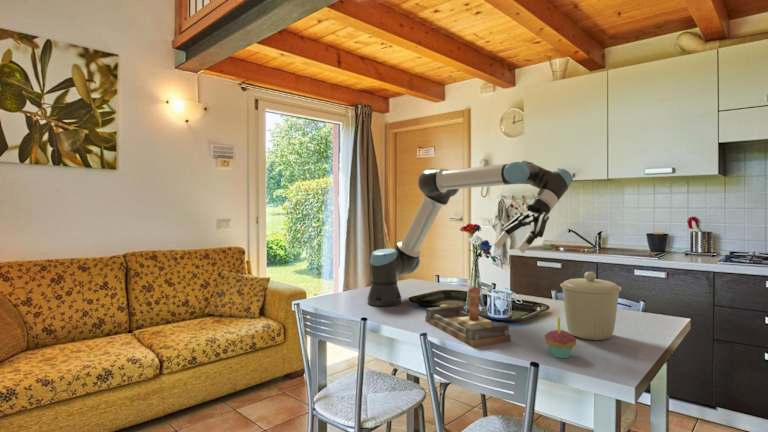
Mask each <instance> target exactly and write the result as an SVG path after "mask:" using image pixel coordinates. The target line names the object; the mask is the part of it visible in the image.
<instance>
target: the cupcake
mask: <svg viewBox="0 0 768 432" xmlns="http://www.w3.org/2000/svg"><path fill="white" fill-rule="evenodd" d="M544 341H545V343H546V344H547V345H548V347H549V350H550V353H551V356H553V357H554V358H555V357H556V358H557V359H568V358H570V356H571V352H572V350H573V348H574V347H575V346H576V345H577V338H576V336H574V335H572V334H571V333H570V332H569V331H567V330H562V329H561V318H560V315H558V316H557V329H555V330H554V329H553V330H550V331H548V332H547V333H546V334H545V335H544Z"/></svg>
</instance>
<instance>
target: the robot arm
mask: <svg viewBox="0 0 768 432" xmlns="http://www.w3.org/2000/svg"><path fill="white" fill-rule="evenodd" d="M573 181H574V177H573V175H572V173H571V172H570V171H568V170H567V169H565V168H561V167H560V168H557V169H556V168H555V170H553V171H552V170H549V169H546V168H543V167H542V166H539V165H537V164H535V163H534V162H530V161H527V160H521V161H513V162H512V161H511V162H510V163H503V164H494V165H493V164H492V165H484V166H477V167H476V166H475V167H468V168H466V167H465V168H460V169H459V168H458V169H457V168H455V169H448V168H447V169H446V168H427V169H425V170H423V171H422V172H421V173H420V175H419V177H418V180H417V185H418V189H420V192H421V193H422V194H423V196H424V197H423V200H422V202H421V204H419V205H420V206H419V207H418V209H417V212H416V213H415V215H414V217H413V219H412V222H411V224H410V225H409V226H408V227H409V228H408V229H407V232H406V234H405V235H404V237H403V239H402V240H401V241H399V242H397V244H396V246H395V248H379V249H376V250H374V251H372V252H371V254H370V261H369V263H370V288H369V291H368V295H367V304H368V305H371V306H374V307H392V306H398V305H400V304H401V303H402V295H401V292H400V289H399V286H398V277H400V276H404V275H410V274H411V273H413V272H415V271H416V270H417V269H418V268H419V266H420V262H421V259H420V257H421V252H420V248H421V247H422V245H423V243H424V241H425V239H426V237H427V235H428V233H429V231H430V230H431V228H432V226H433V224H434V222H435V219H436V218H437V216H438V214H439V212H440V210H441V209H442V206H443V207H444V206H447V205H448V203H449V201H450V199H451V197H453V196H455V195H457V194H458V193H459V191H460V189H471V188H482V187H483V188H484V187H485V188H486V187H494V186H495V187H496V186H507V185H508V186H509V185H530V186H533V187H535V188H536V189H539V190H538V192H537V193H536V194H535V195H534V196H533V198H532V199H531V201H529V203H528V204H527V208H526V212H525V213H523V212H522V211H519V212H518V213H517V214H516V216H514V217H513V218H512V219H511V220H509V221H508V222H507V223H506V224H505V225H503V226H502V227H501V228H500V230H501V234H500V235H499V236H498V238H497V239H496V241H495V242H494V243H493V246H494V247H495V248H496V250H498V251H499V250H500V249H501V248H502V246H503V245H504V243H506V242H507V240H508V239H509V237H510V235H511V234H513V233H514V232H516V231H517V230H519V229H521V228H523V227H526V226H530V231H529V233H527V234H526V236H525V237H524V238H523V239H522V241H521V242H520V244H519V245H518V247H517V249H518V250H519V251H520V253H522V254H524V253H525V252H526V251H527V250H528V249H529V247H530V246H531V245H532V244H533V242H534V241H535V240H536V239H538V238H542V237H544V234H545V230H546V227H547V223H548V221H549V220H550V216H549V214H550V212H551V211H552V210H553V208H555V206H556V204H557V203H558V202H559V201H560V199H562V197H563V195H564V194H565V193H566V192H567V191H568V190H569V188H570V186H571V184H572V183H574V182H573Z"/></svg>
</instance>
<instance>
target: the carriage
mask: <svg viewBox="0 0 768 432" xmlns="http://www.w3.org/2000/svg"><path fill="white" fill-rule="evenodd" d="M480 294H481V291H480V288H478V287H477V286H470V287H469V288H468V290H467V295H468V306H469V307H468V313H469V316H467V317H460V318H457V324H458V325H460V326H462V327H464V328H466V327H473V326H480V325H482V323H492V320H490V319H487V318H485V317H482V316H481V315H480Z"/></svg>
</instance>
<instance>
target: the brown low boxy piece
mask: <svg viewBox="0 0 768 432" xmlns="http://www.w3.org/2000/svg"><path fill="white" fill-rule="evenodd" d="M467 316H469V312H466V311H464V306H463V305H461V304H452V305H449V304H440V305H439V306H437V307H435V306H434V307H427V308H426V315H425V318H424V319H425V320H424V321H425V322H426V323H429V324H430V325H432V326H434V327H435V328H438V329H439V330H441V331H443V332H445V333H446V334H448V335H450V336H453V337H454V338H455V339H457V340H459V341H460V342H463V343H465V344H466V345H469V346H471V347H472V348H475V347H476V348H477V347H481V346H482V345H483V346H488V344H489V345H494V344H493V343H496V344H500V343H501V342H502V343H506V342H507V343H509V342H511V340H512V339H511V337H512V336H511V334H509V330H510V329H509V324H508V323H505V322H496V323H492V322H491V323H482V325H480V326H473V327H466V328H464V327H462V326H460V325H458V324H457V318H460V317H467Z"/></svg>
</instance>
